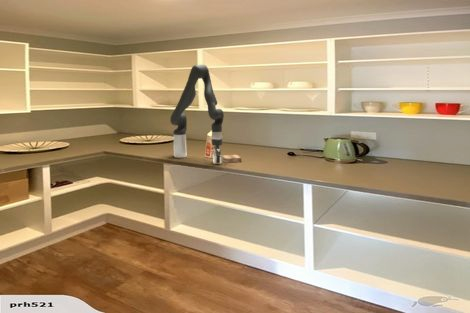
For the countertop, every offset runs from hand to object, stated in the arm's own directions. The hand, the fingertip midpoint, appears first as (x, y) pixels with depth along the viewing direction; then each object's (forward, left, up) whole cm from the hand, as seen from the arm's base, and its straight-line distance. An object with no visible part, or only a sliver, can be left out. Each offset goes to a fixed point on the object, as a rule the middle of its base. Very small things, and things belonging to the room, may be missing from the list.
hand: (217, 161), depth 265 cm
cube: (0, 0, -1) cm, 1 cm away
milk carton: (+1, +24, -1) cm, 24 cm away
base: (+11, +5, -1) cm, 12 cm away
